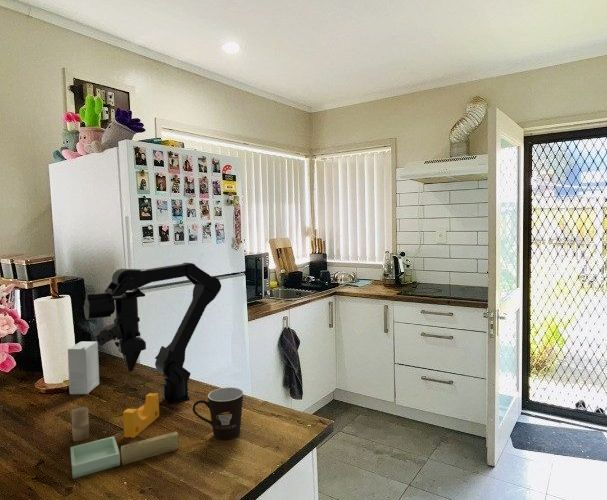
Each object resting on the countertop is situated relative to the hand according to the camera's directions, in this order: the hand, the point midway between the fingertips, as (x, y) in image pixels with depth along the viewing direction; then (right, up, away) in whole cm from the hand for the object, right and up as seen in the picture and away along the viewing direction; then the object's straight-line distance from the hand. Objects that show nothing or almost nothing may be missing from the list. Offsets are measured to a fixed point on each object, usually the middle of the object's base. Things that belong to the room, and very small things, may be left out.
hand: (129, 369), depth 117 cm
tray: (+3, -13, -25) cm, 28 cm away
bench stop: (+14, -13, -23) cm, 30 cm away
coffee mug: (+28, -12, -13) cm, 33 cm away
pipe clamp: (+6, -13, -8) cm, 16 cm away
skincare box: (-22, -12, +18) cm, 30 cm away
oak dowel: (-6, -13, -14) cm, 20 cm away
